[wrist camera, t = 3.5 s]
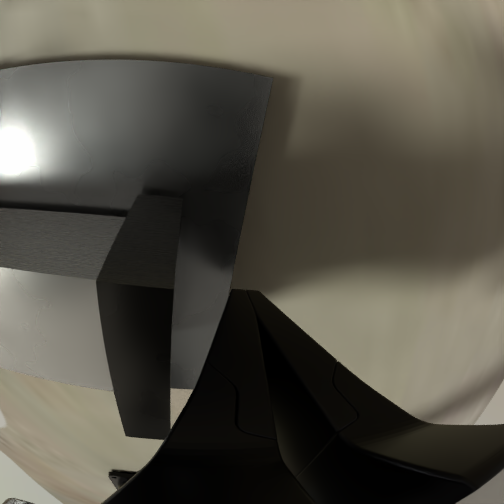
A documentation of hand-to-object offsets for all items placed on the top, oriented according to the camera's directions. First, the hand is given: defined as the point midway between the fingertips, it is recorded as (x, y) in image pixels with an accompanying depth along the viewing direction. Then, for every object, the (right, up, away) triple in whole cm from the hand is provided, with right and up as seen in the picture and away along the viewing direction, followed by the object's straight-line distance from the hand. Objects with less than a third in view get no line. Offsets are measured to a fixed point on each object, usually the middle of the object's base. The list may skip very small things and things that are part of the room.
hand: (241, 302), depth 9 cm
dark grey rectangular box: (-9, +2, -2) cm, 9 cm away
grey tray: (-12, +2, -1) cm, 12 cm away
